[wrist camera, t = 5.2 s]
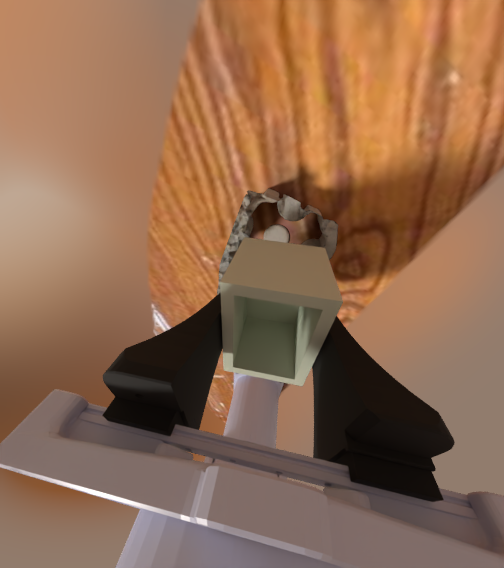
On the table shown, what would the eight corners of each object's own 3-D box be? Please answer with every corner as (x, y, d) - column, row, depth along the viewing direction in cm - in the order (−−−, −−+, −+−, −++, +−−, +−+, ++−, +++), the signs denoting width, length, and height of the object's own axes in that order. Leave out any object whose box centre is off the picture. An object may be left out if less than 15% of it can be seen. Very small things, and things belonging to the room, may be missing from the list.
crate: (299, 325, 15) (302, 386, 11) (240, 314, 16) (223, 370, 12) (325, 247, 11) (343, 301, 7) (243, 237, 12) (219, 281, 8)
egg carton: (255, 174, 14) (245, 181, 11) (341, 217, 15) (356, 236, 12) (218, 277, 20) (204, 302, 17) (279, 304, 21) (277, 333, 18)
